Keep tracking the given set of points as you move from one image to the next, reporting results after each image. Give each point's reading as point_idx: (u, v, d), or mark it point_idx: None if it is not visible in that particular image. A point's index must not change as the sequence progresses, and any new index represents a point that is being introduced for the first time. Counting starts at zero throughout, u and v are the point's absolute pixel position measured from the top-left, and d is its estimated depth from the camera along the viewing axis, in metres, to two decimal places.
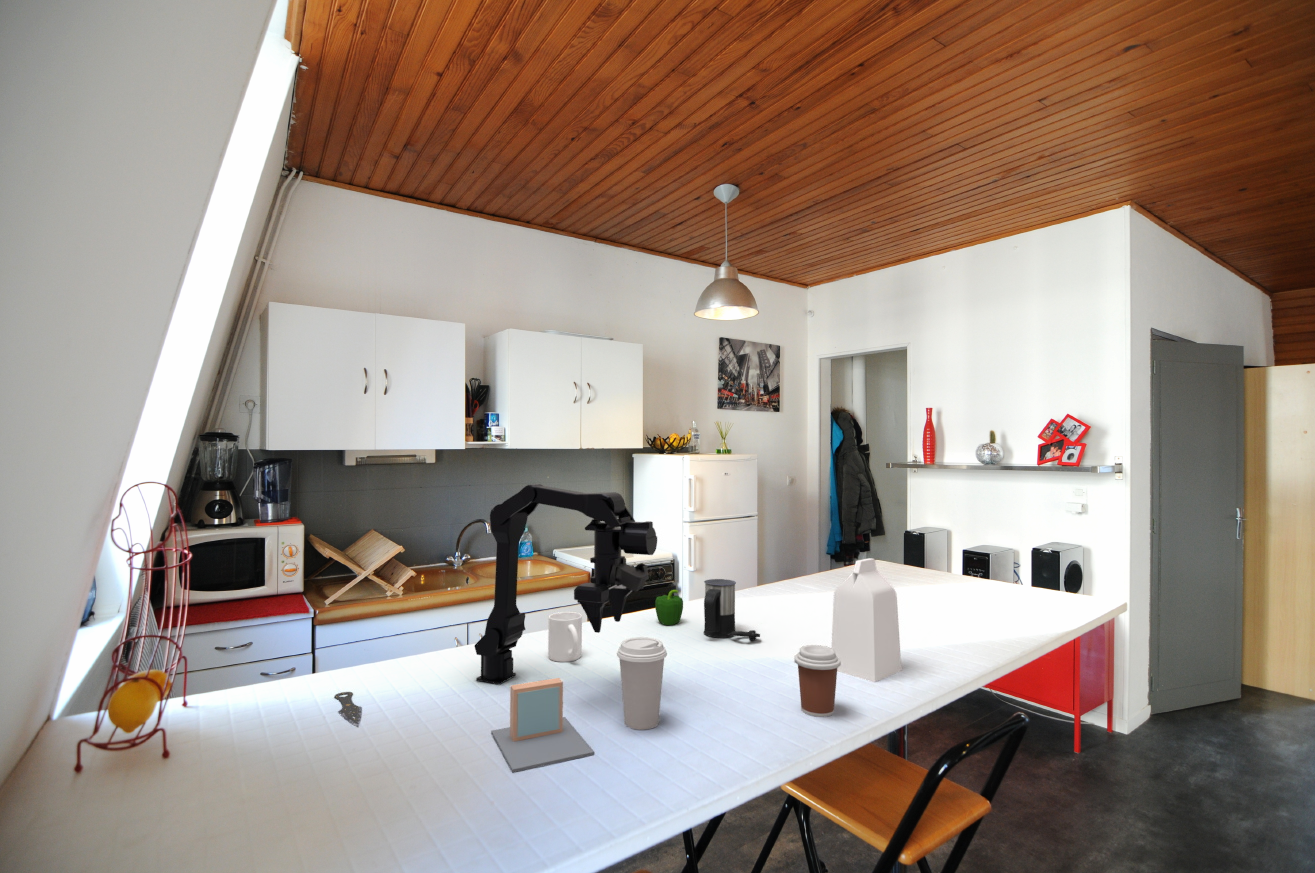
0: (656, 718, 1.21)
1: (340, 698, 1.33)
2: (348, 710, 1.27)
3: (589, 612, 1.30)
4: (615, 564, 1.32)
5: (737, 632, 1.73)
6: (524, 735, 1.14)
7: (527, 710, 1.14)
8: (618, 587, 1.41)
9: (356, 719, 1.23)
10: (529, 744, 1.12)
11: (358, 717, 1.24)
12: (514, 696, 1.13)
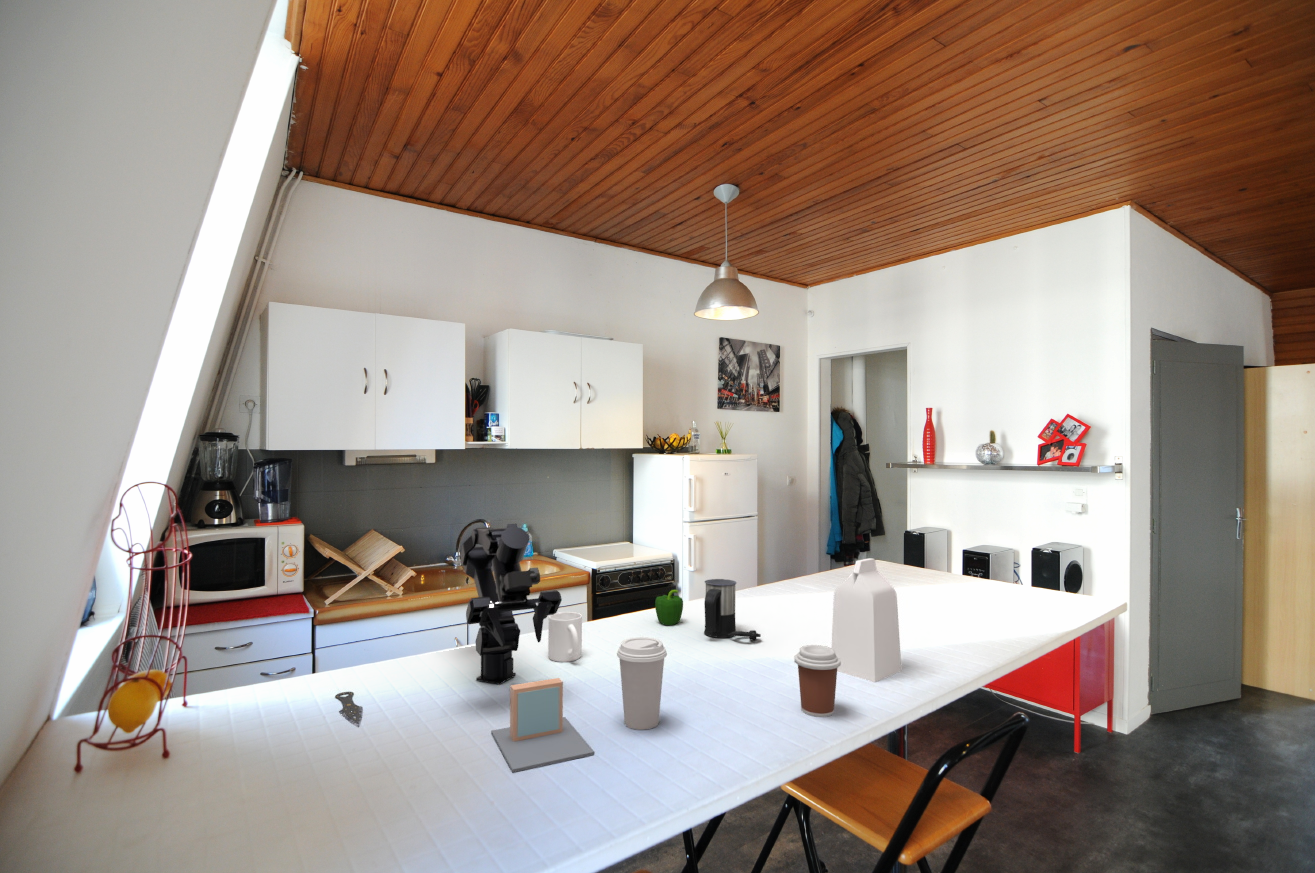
0: (656, 718, 1.21)
1: (341, 698, 1.33)
2: (349, 710, 1.27)
3: (492, 630, 1.28)
4: (501, 577, 1.33)
5: (737, 632, 1.73)
6: (524, 735, 1.14)
7: (527, 710, 1.14)
8: None
9: (357, 719, 1.23)
10: (529, 744, 1.12)
11: (359, 717, 1.24)
12: (514, 696, 1.13)
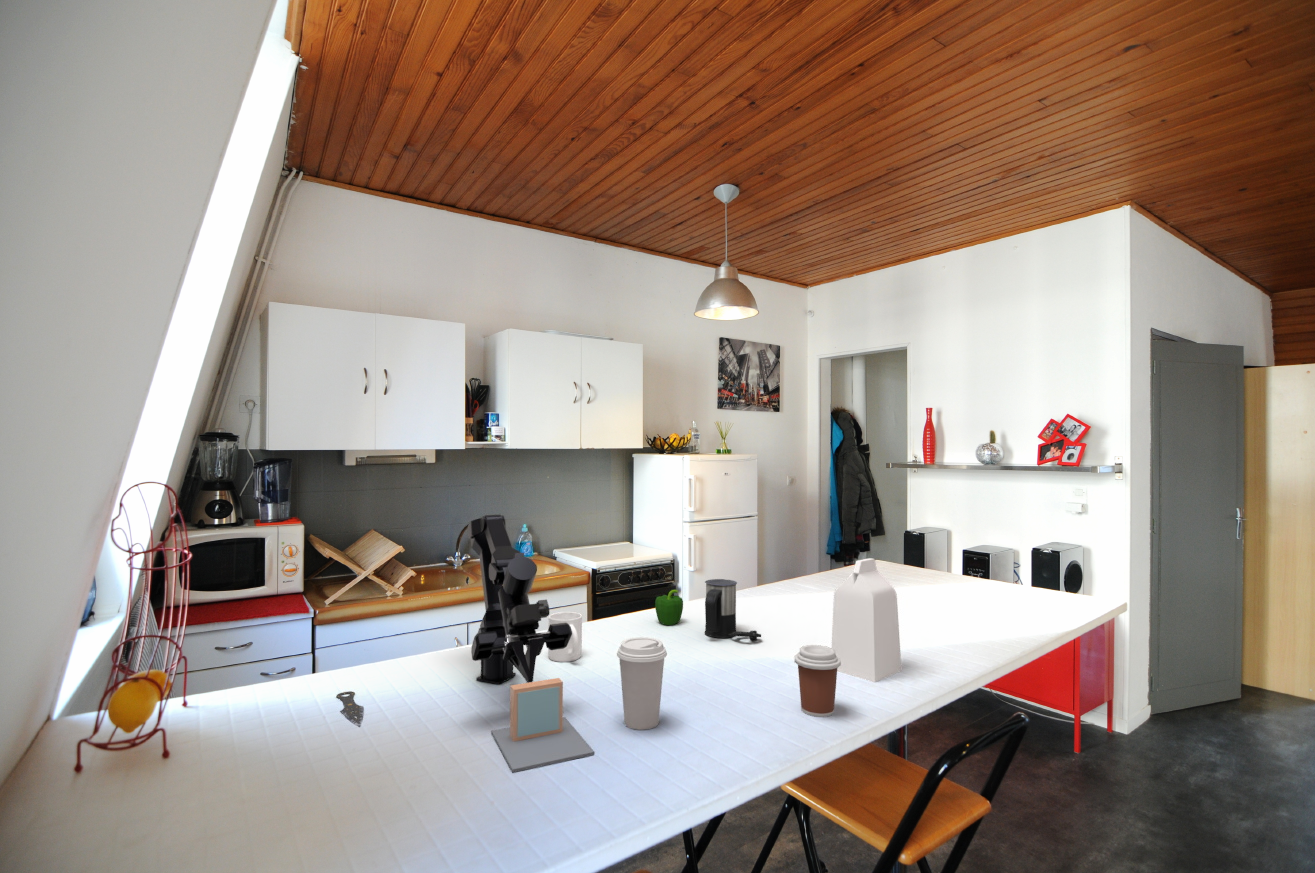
0: (656, 718, 1.21)
1: (342, 698, 1.33)
2: (350, 710, 1.27)
3: (517, 664, 1.23)
4: (508, 610, 1.26)
5: (738, 632, 1.73)
6: (524, 735, 1.14)
7: (527, 710, 1.14)
8: None
9: (358, 719, 1.23)
10: (529, 744, 1.12)
11: (360, 717, 1.24)
12: (514, 696, 1.13)
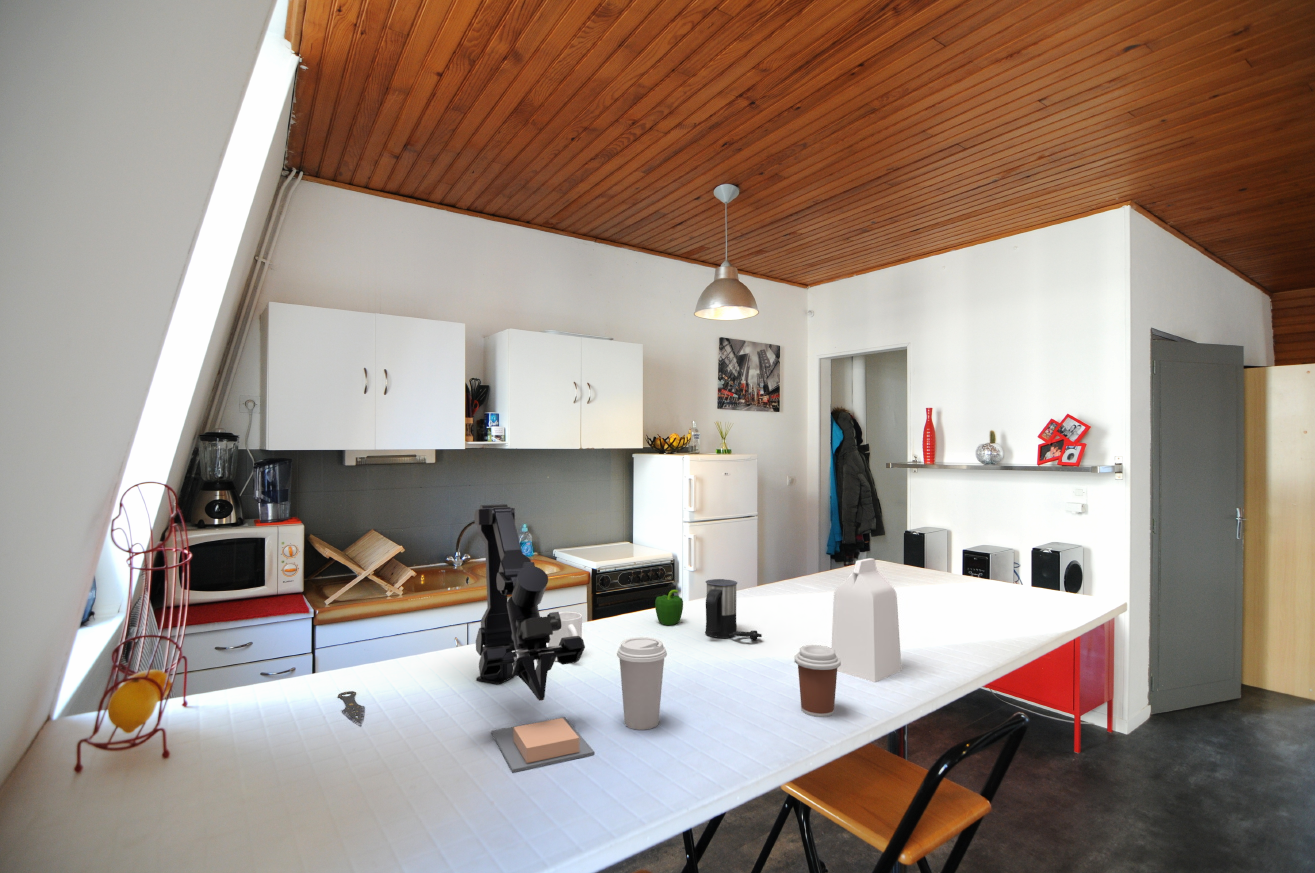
0: (656, 718, 1.21)
1: (343, 697, 1.33)
2: (351, 709, 1.27)
3: (527, 681, 1.16)
4: (517, 623, 1.19)
5: (739, 632, 1.73)
6: None
7: None
8: None
9: (359, 718, 1.23)
10: None
11: (361, 716, 1.24)
12: None
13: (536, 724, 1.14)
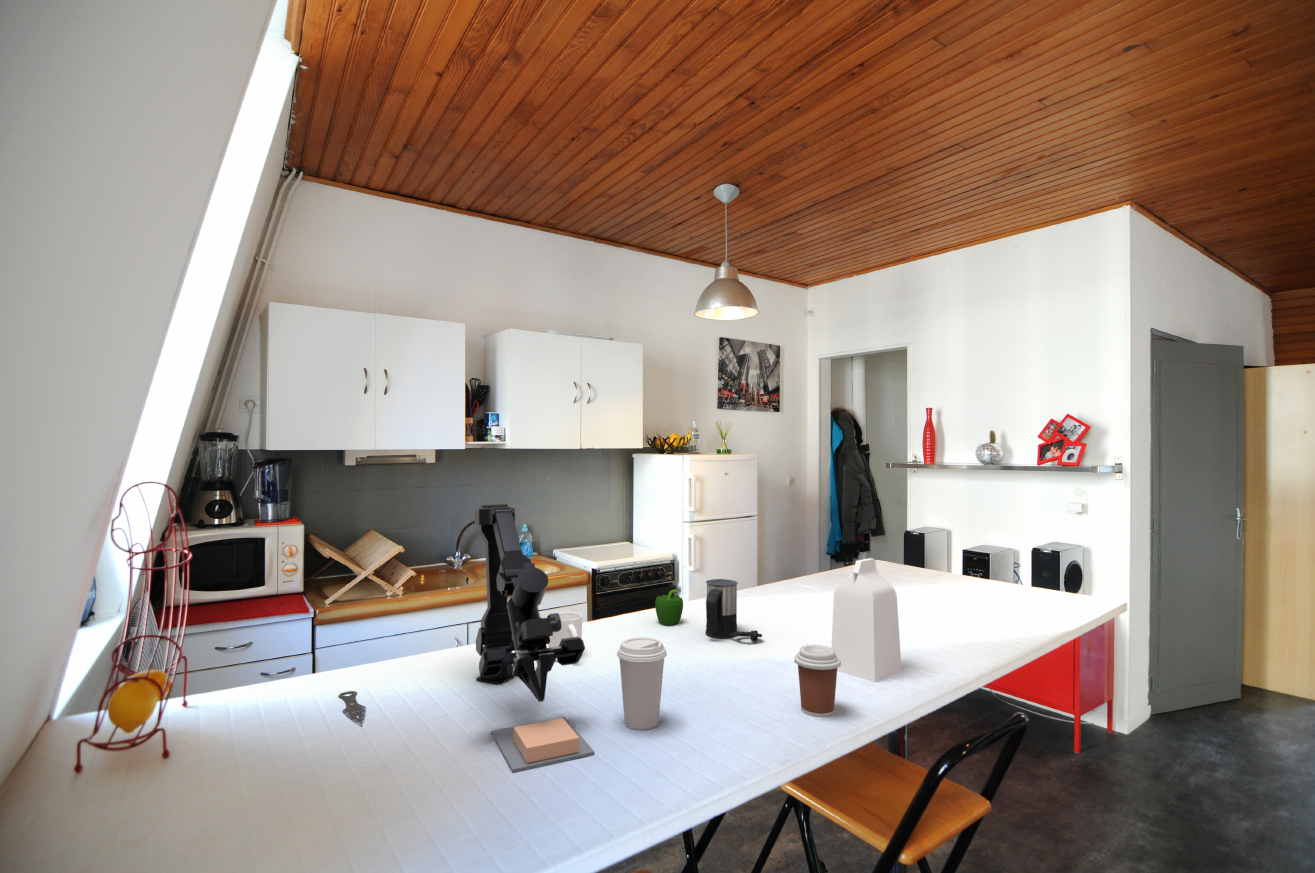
0: (656, 718, 1.21)
1: (344, 697, 1.34)
2: (352, 709, 1.27)
3: (527, 682, 1.16)
4: (517, 624, 1.19)
5: (739, 632, 1.73)
6: None
7: None
8: None
9: (360, 718, 1.23)
10: None
11: (362, 716, 1.24)
12: None
13: (536, 724, 1.14)
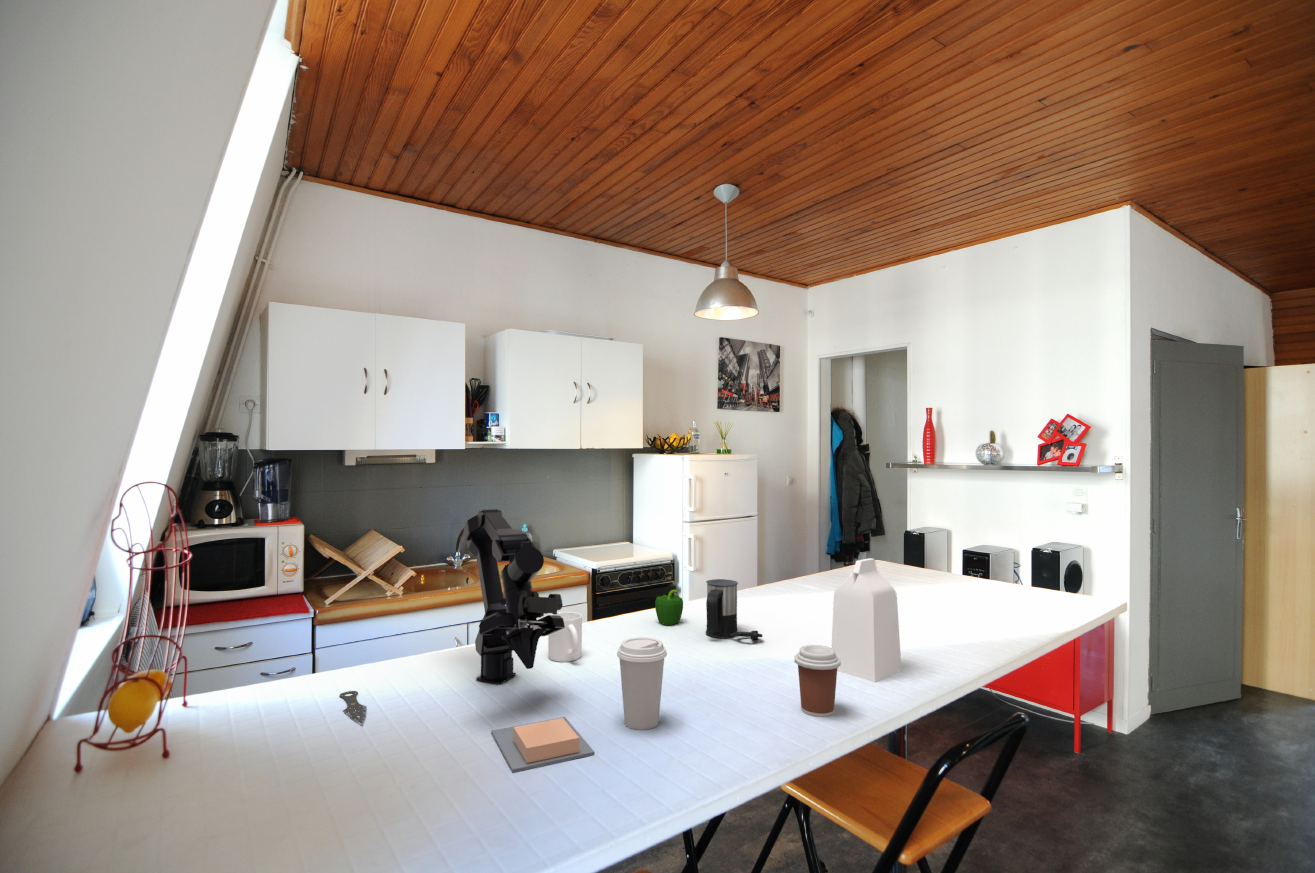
0: (656, 718, 1.21)
1: (345, 697, 1.34)
2: (353, 709, 1.27)
3: (517, 648, 1.27)
4: (521, 594, 1.29)
5: (739, 632, 1.73)
6: None
7: None
8: None
9: (361, 718, 1.23)
10: None
11: (363, 716, 1.24)
12: None
13: (536, 724, 1.14)
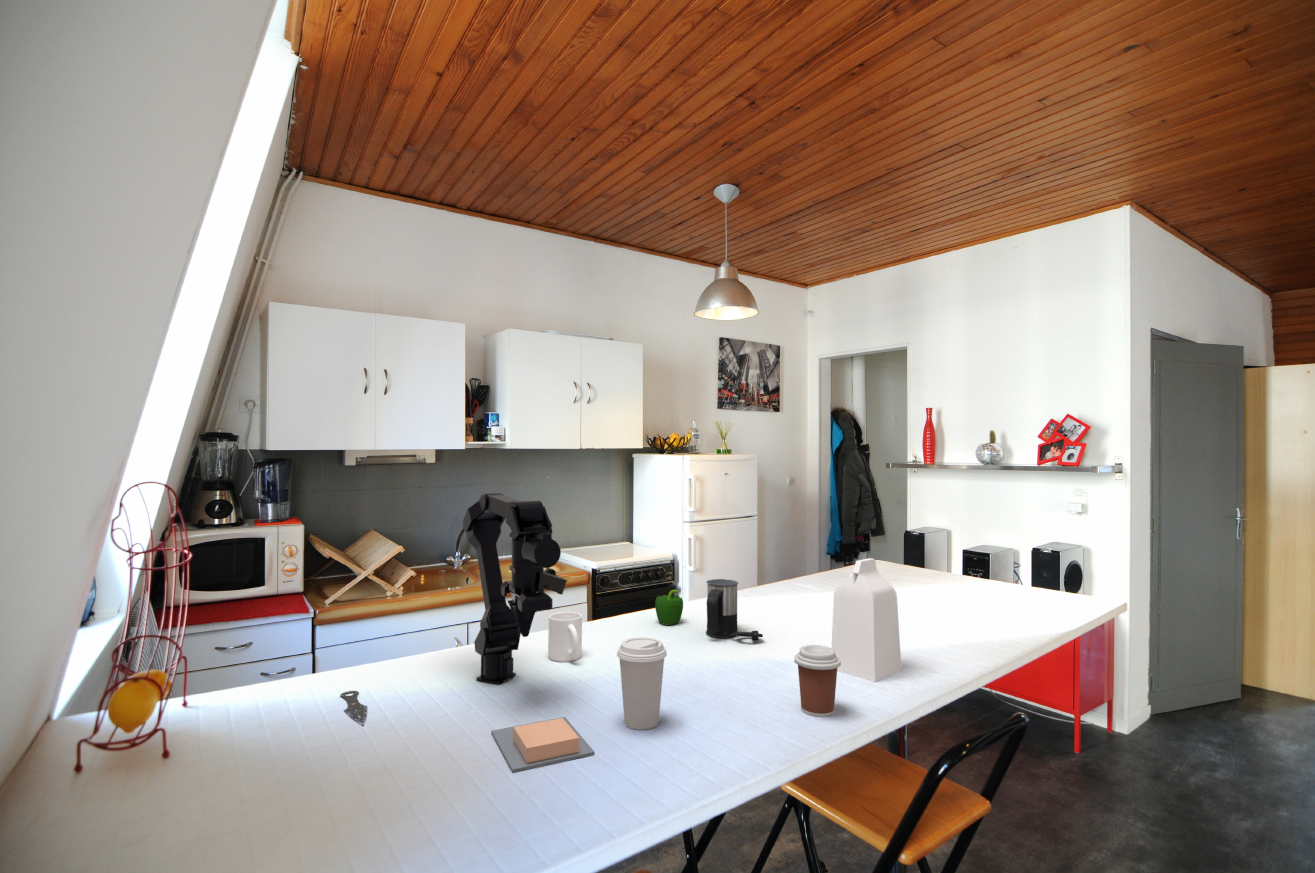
0: (656, 718, 1.21)
1: (346, 697, 1.34)
2: (354, 709, 1.28)
3: (522, 618, 1.32)
4: (542, 570, 1.33)
5: (740, 632, 1.73)
6: None
7: None
8: None
9: (361, 718, 1.23)
10: None
11: (363, 716, 1.24)
12: None
13: (536, 724, 1.14)
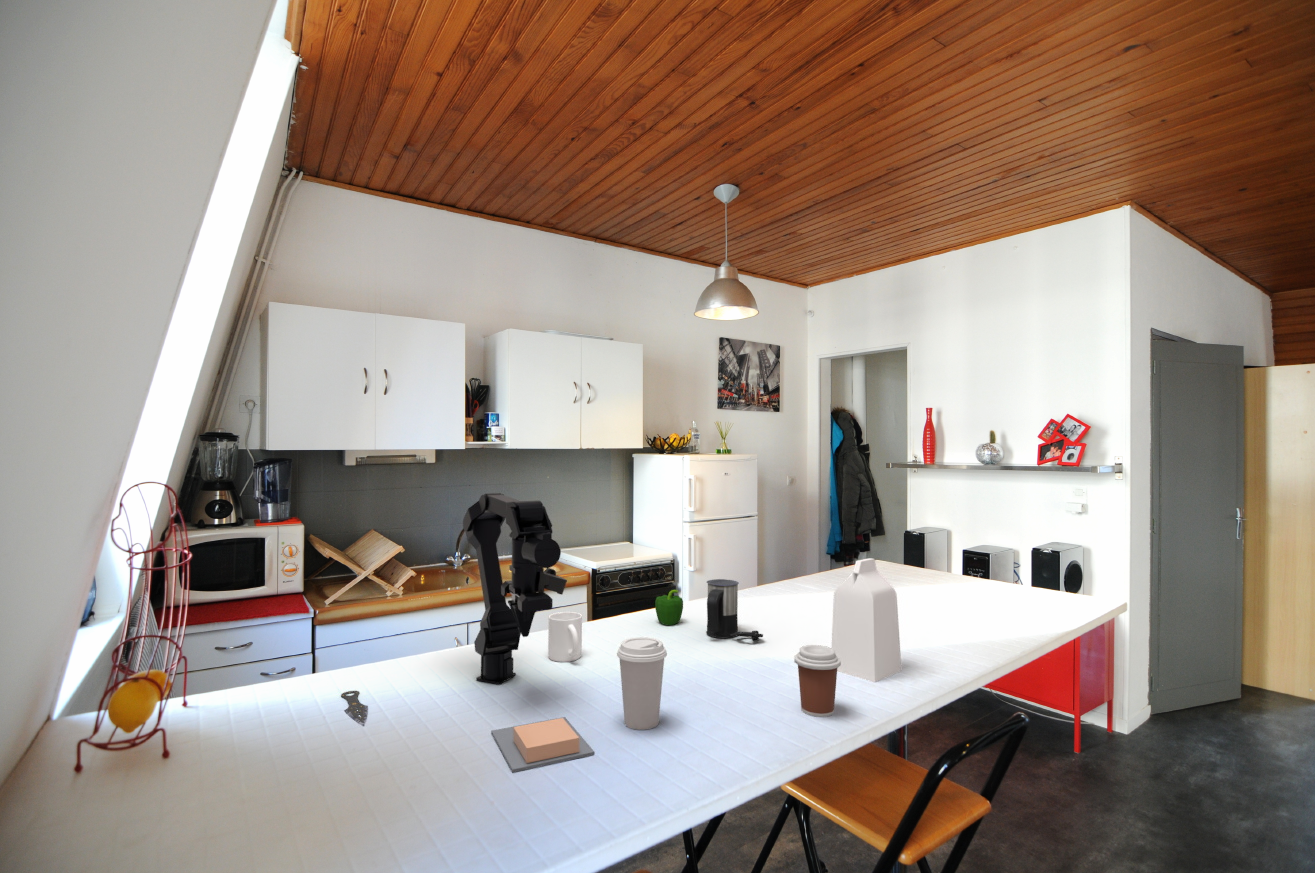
0: (656, 718, 1.21)
1: (347, 697, 1.34)
2: (354, 709, 1.28)
3: (522, 618, 1.32)
4: (542, 570, 1.33)
5: (740, 632, 1.73)
6: None
7: None
8: None
9: (362, 718, 1.23)
10: None
11: (364, 716, 1.24)
12: None
13: (536, 724, 1.14)
